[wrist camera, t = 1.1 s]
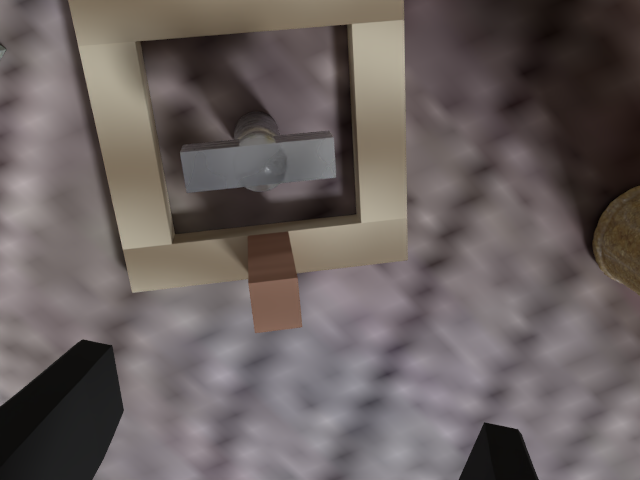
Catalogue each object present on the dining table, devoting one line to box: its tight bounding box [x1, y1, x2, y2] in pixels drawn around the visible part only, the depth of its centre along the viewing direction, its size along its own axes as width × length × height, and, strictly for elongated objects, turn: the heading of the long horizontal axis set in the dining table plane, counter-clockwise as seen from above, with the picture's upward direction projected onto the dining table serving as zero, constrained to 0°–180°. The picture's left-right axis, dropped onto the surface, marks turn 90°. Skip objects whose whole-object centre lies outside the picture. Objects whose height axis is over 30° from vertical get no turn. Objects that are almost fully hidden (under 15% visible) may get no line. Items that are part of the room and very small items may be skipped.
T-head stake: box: [180, 112, 336, 193], centre depth 19 cm, size 4×2×4 cm, turn 94°
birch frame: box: [68, 0, 408, 333], centre depth 19 cm, size 10×10×5 cm
